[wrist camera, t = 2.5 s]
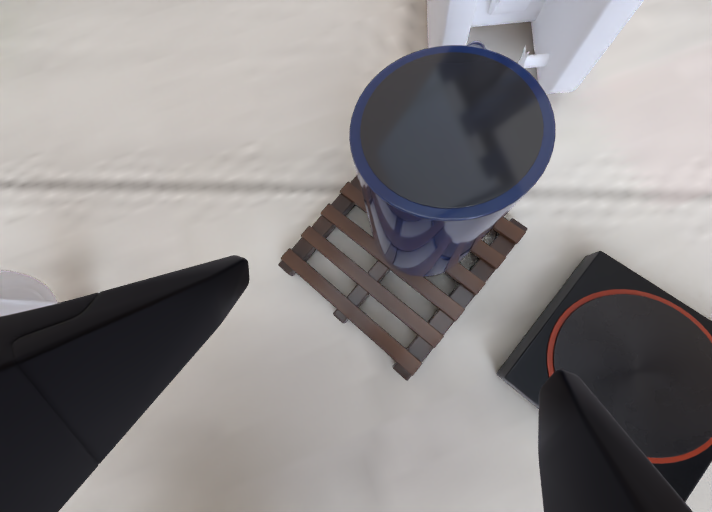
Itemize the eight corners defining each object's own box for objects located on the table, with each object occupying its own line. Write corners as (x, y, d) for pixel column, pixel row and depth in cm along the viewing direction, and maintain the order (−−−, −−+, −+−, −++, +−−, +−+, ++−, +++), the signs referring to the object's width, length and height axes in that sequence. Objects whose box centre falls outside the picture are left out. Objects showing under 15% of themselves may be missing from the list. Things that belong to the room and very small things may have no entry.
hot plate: (650, 500, 17) (691, 528, 14) (495, 373, 19) (509, 380, 17) (744, 359, 18) (796, 364, 15) (585, 255, 20) (609, 246, 18)
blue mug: (457, 290, 20) (530, 246, 9) (359, 259, 21) (321, 188, 10) (493, 163, 21) (592, -3, 11) (401, 141, 23) (405, -25, 12)
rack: (406, 379, 20) (407, 382, 19) (281, 266, 23) (275, 263, 22) (523, 231, 21) (530, 226, 20) (390, 143, 24) (389, 133, 23)
